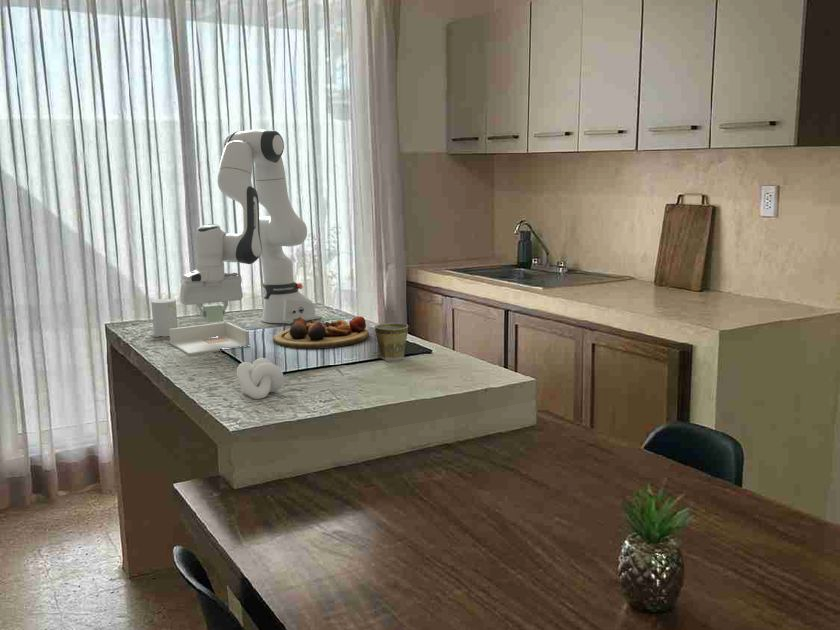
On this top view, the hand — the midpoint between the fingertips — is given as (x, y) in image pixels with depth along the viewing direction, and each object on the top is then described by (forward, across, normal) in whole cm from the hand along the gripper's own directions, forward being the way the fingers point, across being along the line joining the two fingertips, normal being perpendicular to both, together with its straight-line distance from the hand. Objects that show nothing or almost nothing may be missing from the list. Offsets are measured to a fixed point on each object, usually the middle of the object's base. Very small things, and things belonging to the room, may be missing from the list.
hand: (213, 315), depth 272 cm
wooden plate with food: (+9, -32, +16) cm, 37 cm away
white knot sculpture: (+10, +10, +69) cm, 70 cm away
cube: (+2, 0, 0) cm, 2 cm away
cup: (+9, +10, -23) cm, 27 cm away
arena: (+9, +2, +3) cm, 10 cm away
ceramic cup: (+9, -38, +54) cm, 66 cm away
